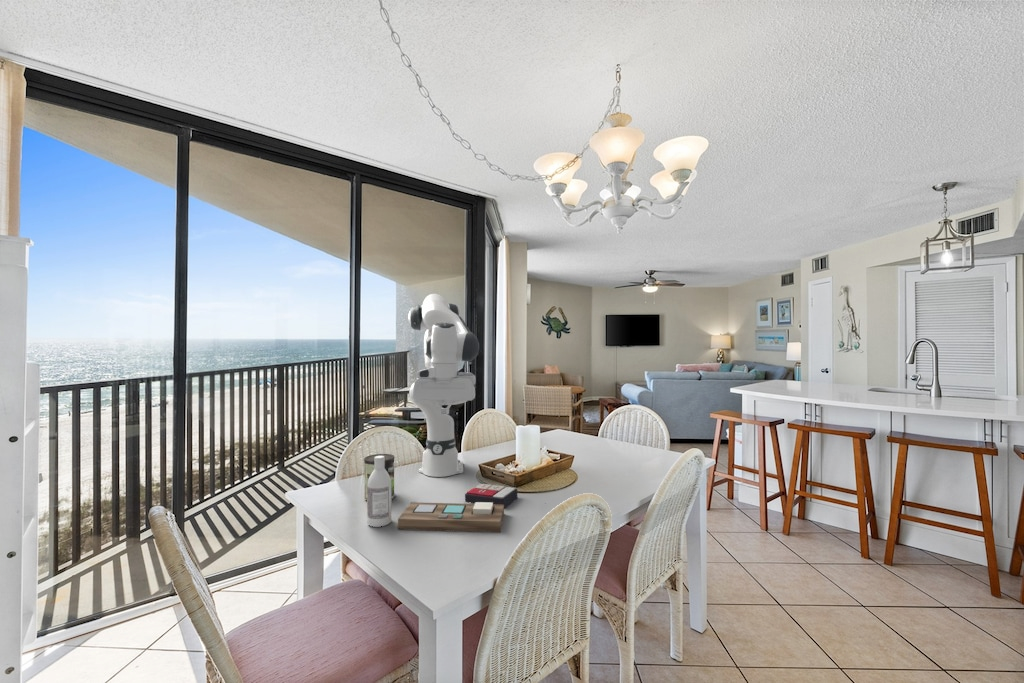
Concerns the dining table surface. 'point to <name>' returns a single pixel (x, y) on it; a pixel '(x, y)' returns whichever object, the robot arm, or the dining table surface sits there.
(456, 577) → the dining table surface
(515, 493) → the red and black box
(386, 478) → the bath foam
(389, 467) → the coffee can
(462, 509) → the teal key
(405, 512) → the keypad
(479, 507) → the cream key
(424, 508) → the grey key
